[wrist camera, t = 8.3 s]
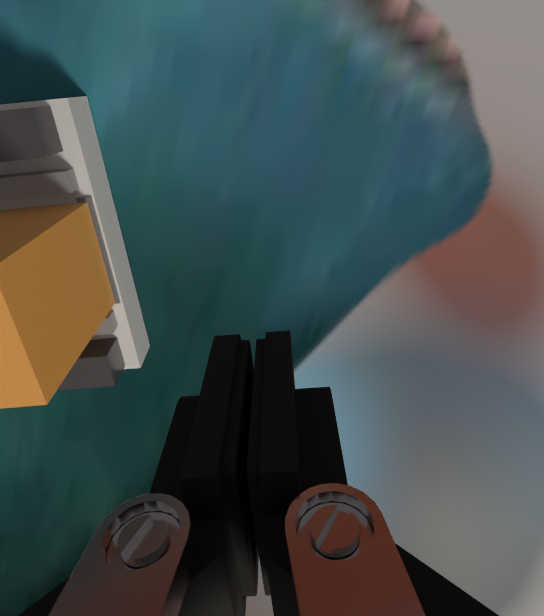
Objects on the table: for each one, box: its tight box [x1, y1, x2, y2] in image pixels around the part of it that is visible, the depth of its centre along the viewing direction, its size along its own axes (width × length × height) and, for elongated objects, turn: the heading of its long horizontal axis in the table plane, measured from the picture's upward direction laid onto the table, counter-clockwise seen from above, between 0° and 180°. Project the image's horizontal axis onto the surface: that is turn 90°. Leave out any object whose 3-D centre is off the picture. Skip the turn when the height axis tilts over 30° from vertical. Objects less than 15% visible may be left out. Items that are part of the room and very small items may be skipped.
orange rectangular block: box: [0, 202, 115, 408], centre depth 16 cm, size 4×4×7 cm
